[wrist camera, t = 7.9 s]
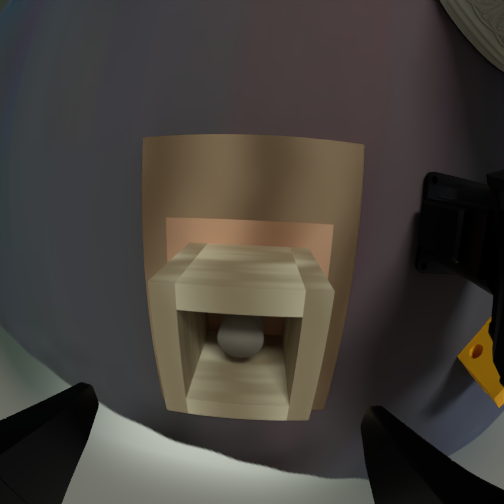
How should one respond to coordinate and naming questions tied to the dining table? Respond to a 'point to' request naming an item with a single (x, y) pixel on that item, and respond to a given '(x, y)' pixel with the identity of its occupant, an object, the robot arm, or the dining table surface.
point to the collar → (241, 303)
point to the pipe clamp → (483, 364)
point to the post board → (255, 217)
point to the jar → (481, 25)
